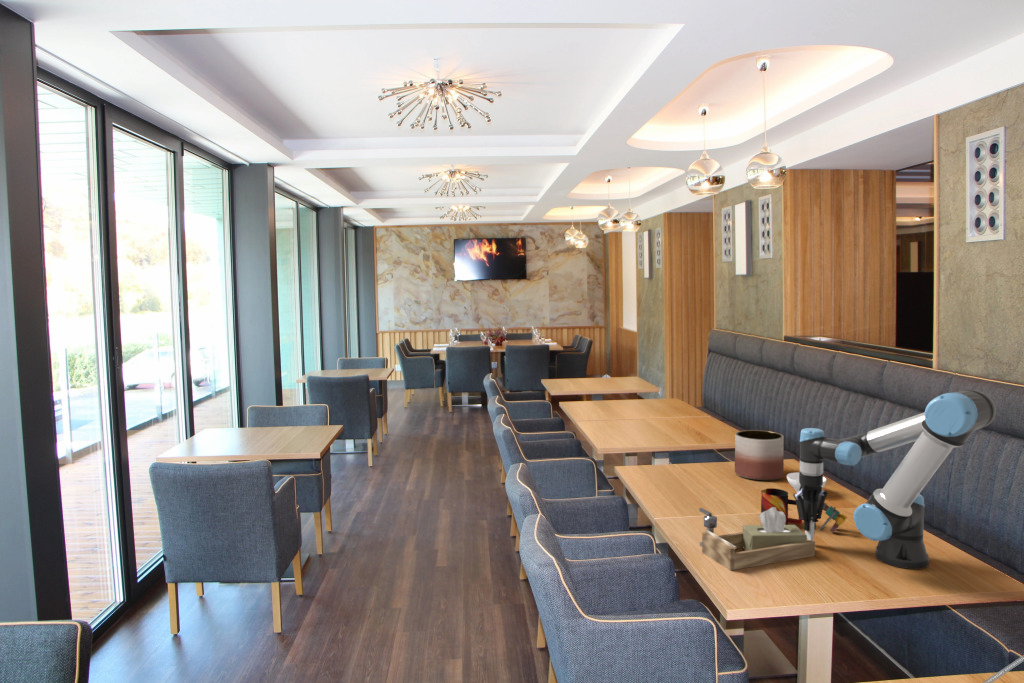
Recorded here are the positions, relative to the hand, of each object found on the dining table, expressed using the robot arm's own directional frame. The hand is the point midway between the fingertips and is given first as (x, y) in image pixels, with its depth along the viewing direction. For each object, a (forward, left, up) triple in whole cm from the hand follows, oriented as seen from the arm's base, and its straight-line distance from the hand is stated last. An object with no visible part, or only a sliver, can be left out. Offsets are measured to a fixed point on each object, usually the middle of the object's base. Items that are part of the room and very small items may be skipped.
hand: (809, 539), depth 227 cm
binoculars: (+8, -18, -3) cm, 20 cm away
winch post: (+13, +33, -2) cm, 35 cm away
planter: (+78, -41, -3) cm, 88 cm away
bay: (0, +21, -2) cm, 21 cm away
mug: (+22, -6, -3) cm, 23 cm away
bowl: (+48, -42, -3) cm, 64 cm away
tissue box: (0, +15, -3) cm, 15 cm away
